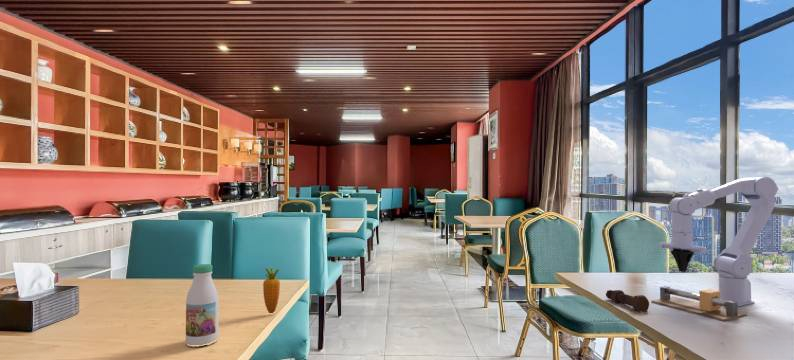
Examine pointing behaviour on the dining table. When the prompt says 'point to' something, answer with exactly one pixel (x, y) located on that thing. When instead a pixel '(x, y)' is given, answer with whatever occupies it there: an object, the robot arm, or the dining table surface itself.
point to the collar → (709, 299)
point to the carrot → (271, 290)
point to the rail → (730, 306)
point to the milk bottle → (202, 308)
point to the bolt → (629, 300)
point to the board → (696, 308)
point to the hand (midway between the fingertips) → (682, 271)
